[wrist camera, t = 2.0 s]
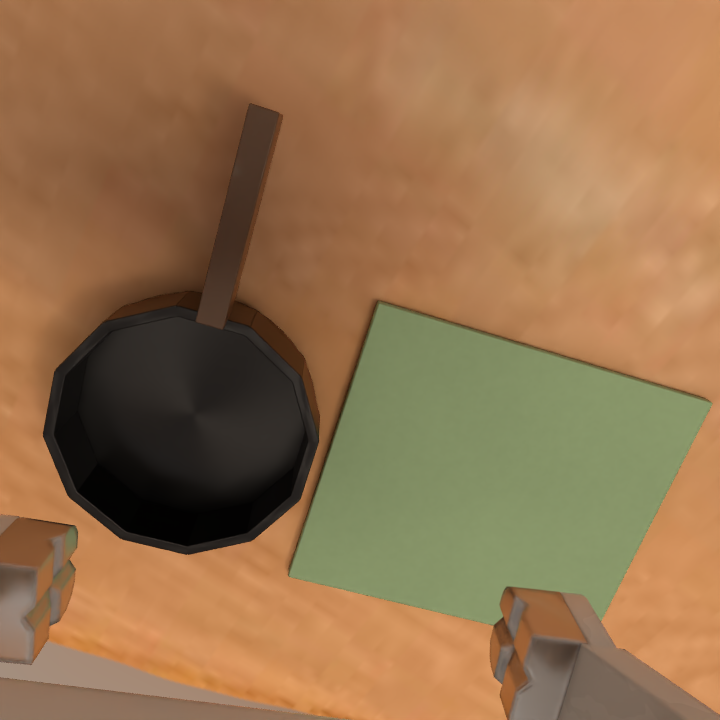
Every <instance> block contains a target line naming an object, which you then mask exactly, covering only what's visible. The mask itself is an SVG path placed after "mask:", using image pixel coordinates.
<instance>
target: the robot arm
mask: <svg viewBox="0 0 720 720" xmlns="http://www.w3.org/2000/svg"><path fill="white" fill-rule="evenodd" d="M77 541H78V531H77V528H76V526H74V525H68V524H62V523H55V522H49V521H43V520H36V519H30V518H24V517H21V518H20V517H19V516H12V515H3V514H0V662H6V663H17V664H28V665H32V663H33V661H34V660H35V658H36V657H37V655H38V654H39V652H40V651H41V649H42V648H43V646H44V644H45V643H46V642H47V640H48V638H49V626H51V625H53V624H55V623H57V622H59V621H60V619H61V618H62V616H63V614H64V613H65V611H66V609H67V606H68V604H69V601H70V598H71V596H72V592H73V587H74V582H75V571H76V569H75V567H74V566H73V564H72V563H71V561H70V560H69V559H70V557H71V556H72V554H73V553H74V551H75V550H76V549H77ZM499 606H500V609H501V611H502V614H503V617H502V618H501V619H500V620H499V621H498V622H497V623H495V624H494V626H493V631H492V635H491V640H490V663H491V668H492V672H493V675H494V677H495V678H496V679H497V680H498V681H499V682H500V683H501V684H502V688H501V691H500V698H501V701H502V704H503V707H504V710H505V713H506V717H507V720H720V715H719V714H717V713H716V712H714V711H713V710H712V709H710V708H709V707H707V706H706V705H704V704H703V703H701V702H700V701H699V700H697V699H696V698H694V697H693V696H691V695H690V694H688V693H687V692H686V691H684V690H683V689H681V688H680V687H678V686H677V685H675V684H674V683H673V682H671V681H670V680H668V679H667V678H665V677H664V676H662V675H661V674H660V673H658V672H657V671H655V670H654V669H652V668H651V667H649V666H648V665H647V664H645V663H644V662H642V661H641V660H639V659H638V658H636V657H635V656H634V655H632V654H631V653H629V652H628V651H626V650H625V649H619V648H616V646H615V644H614V643H613V641H612V639H611V638H610V636H609V634H608V633H607V631H606V629H605V628H604V626H603V624H602V623H601V621H600V619H599V618H598V616H597V614H596V613H595V611H594V609H593V608H592V606H591V604H590V603H589V601H588V599H587V598H586V597H585V596H584V595H582V594H577V593H567V592H556V591H547V590H538V589H529V588H520V587H511V586H506V587H505V589H504V591H503V593H502V596H501V600H500V603H499ZM0 720H349V719H341V718H333V717H324V716H316V715H308V714H300V713H291V712H282V711H275V710H266V709H258V708H250V707H241V706H233V705H225V704H216V703H208V702H199V701H192V700H183V699H175V698H167V697H158V696H150V695H141V694H133V693H125V692H116V691H109V690H100V689H92V688H84V687H75V686H67V685H59V684H51V683H42V682H33V681H26V680H17V679H9V678H1V677H0Z"/></svg>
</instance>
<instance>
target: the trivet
mask: <svg viewBox="0 0 720 720" xmlns="http://www.w3.org/2000/svg"><path fill="white" fill-rule="evenodd" d="M711 406H712V402H710V401H709V400H707V399H705V398H701V397H698V396H695V395H692V394H688V393H685V392H682V391H678V390H675V389H672V388H668V387H665V386H662V385H658V384H655V383H652V382H648V381H645V380H642V379H638V378H635V377H632V376H628V375H625V374H622V373H618V372H615V371H612V370H608V369H605V368H602V367H598V366H595V365H592V364H588V363H585V362H582V361H578V360H575V359H572V358H568V357H565V356H562V355H558V354H555V353H552V352H548V351H545V350H542V349H538V348H535V347H532V346H528V345H525V344H522V343H518V342H515V341H512V340H508V339H505V338H502V337H498V336H495V335H492V334H488V333H485V332H482V331H478V330H475V329H472V328H468V327H465V326H462V325H458V324H455V323H452V322H448V321H445V320H442V319H439V318H435V317H432V316H429V315H425V314H422V313H419V312H415V311H412V310H409V309H405V308H402V307H399V306H395V305H392V304H389V303H385V302H382V301H378V302H377V305H376V308H375V311H374V314H373V317H372V320H371V323H370V326H369V329H368V332H367V335H366V338H365V341H364V344H363V347H362V350H361V353H360V356H359V359H358V362H357V365H356V368H355V371H354V374H353V377H352V380H351V383H350V386H349V390H348V393H347V396H346V399H345V402H344V405H343V408H342V411H341V414H340V417H339V420H338V423H337V426H336V429H335V432H334V435H333V438H332V441H331V444H330V447H329V450H328V453H327V456H326V459H325V462H324V465H323V468H322V471H321V474H320V477H319V480H318V483H317V486H316V489H315V492H314V495H313V499H312V502H311V505H310V508H309V511H308V514H307V517H306V520H305V523H304V526H303V529H302V532H301V535H300V538H299V541H298V544H297V547H296V550H295V553H294V556H293V559H292V562H291V565H290V568H289V574H288V576H289V577H292V578H296V579H300V580H304V581H309V582H313V583H317V584H321V585H325V586H330V587H334V588H338V589H342V590H346V591H351V592H355V593H359V594H363V595H367V596H372V597H376V598H380V599H384V600H388V601H393V602H397V603H401V604H405V605H409V606H414V607H418V608H422V609H426V610H430V611H435V612H439V613H443V614H447V615H451V616H456V617H460V618H464V619H468V620H473V621H477V622H481V623H485V624H489V625H494V624H495V623H497V622H498V621H499V620H500V619H501V618H502V617H503V614H502V611H501V609H500V606H499V603H500V600H501V596H502V593H503V591H504V589H505V587H506V586H511V587H520V588H529V589H538V590H547V591H556V592H567V593H577V594H582V595H584V596H585V597H586V598H587V599H588V601H589V603H590V604H591V606H592V608H593V609H594V611H595V613H596V614H597V616H598V618H599V619H600V621H602V619H603V617H604V615H605V613H606V611H607V609H608V607H609V605H610V603H611V601H612V599H613V597H614V595H615V593H616V591H617V589H618V587H619V585H620V584H621V582H622V580H623V578H624V576H625V574H626V572H627V570H628V568H629V566H630V564H631V562H632V560H633V558H634V556H635V554H636V552H637V550H638V548H639V546H640V544H641V542H642V541H643V539H644V537H645V535H646V533H647V531H648V529H649V527H650V525H651V523H652V521H653V519H654V517H655V515H656V513H657V511H658V509H659V507H660V505H661V503H662V501H663V500H664V498H665V496H666V494H667V492H668V490H669V488H670V486H671V484H672V482H673V480H674V478H675V476H676V474H677V472H678V470H679V468H680V466H681V464H682V462H683V460H684V458H685V457H686V455H687V453H688V451H689V449H690V447H691V445H692V443H693V441H694V439H695V437H696V435H697V433H698V431H699V429H700V427H701V425H702V423H703V421H704V419H705V417H706V415H707V414H708V412H709V410H710V408H711Z"/></svg>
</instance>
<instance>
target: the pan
mask: <svg viewBox="0 0 720 720" xmlns="http://www.w3.org/2000/svg"><path fill="white" fill-rule="evenodd" d="M282 120H283V115H282V114H281V113H279V112H276V111H273V110H270V109H267V108H264V107H261V106H258V105H255V104H252V103H250V104H249V106H248V110H247V114H246V118H245V122H244V127H243V131H242V135H241V139H240V143H239V147H238V151H237V155H236V159H235V163H234V167H233V171H232V175H231V179H230V183H229V187H228V191H227V195H226V199H225V203H224V207H223V211H222V216H221V220H220V224H219V228H218V232H217V236H216V240H215V244H214V248H213V252H212V256H211V260H210V264H209V268H208V272H207V276H206V280H205V284H204V288H203V292H202V293H196V292H193V291H186V292H182V293H171V294H165V295H159V296H156V297H152V298H149V299H146V300H143V301H141V302H138V303H133V304H129V305H125V306H123V307H121V308H120V309H119V310H118V311H116V312H115V313H114V314H113V315H111V316H110V317H109V318H108V319H106V320H105V321H104V322H103V323H102V324H101V325H100V326H99V327H98V328H97V329H96V330H95V331H94V332H93V333H92V334H91V335H90V336H89V337H88V338H86V339H85V340H84V341H83V342H82V343H81V344H80V345H79V346H78V347H77V348H76V349H75V350H74V351H73V352H72V353H71V354H70V355H69V356H68V357H67V358H66V359H65V360H64V361H63V362H62V363H61V364H60V365H59V366H58V367H57V368H56V370H55V371H54V377H53V382H52V387H51V393H50V398H49V404H48V409H47V414H46V420H45V425H44V431H43V437H44V440H45V442H46V444H47V447H48V449H49V452H50V454H51V456H52V459H53V461H54V464H55V466H56V469H57V471H58V473H59V476H60V478H61V481H62V483H63V485H64V488H65V490H66V493H67V495H68V496H69V498H71V499H72V500H73V501H74V502H76V503H77V504H78V505H79V506H81V507H82V508H83V509H84V510H85V511H87V512H88V513H89V514H90V515H92V516H93V517H94V518H95V519H97V520H98V521H99V522H100V523H102V524H103V525H104V526H105V527H107V528H108V529H109V530H110V531H111V532H113V533H114V534H115V535H116V536H118V537H119V538H120V539H121V538H122V540H127V541H131V542H135V543H139V544H143V545H148V546H152V547H156V548H160V549H165V550H169V551H173V552H177V553H181V554H186V555H187V554H188V555H190V554H194V553H199V552H203V551H208V550H213V549H217V548H222V547H227V546H231V545H236V544H241V543H245V542H250V541H252V540H254V539H255V538H256V537H257V536H258V535H260V534H261V533H262V532H263V531H264V530H265V529H267V528H268V527H269V526H270V525H271V524H273V523H274V522H275V521H276V520H277V519H278V518H280V517H281V516H282V515H283V514H284V513H286V512H287V511H288V510H289V509H290V508H291V507H293V506H294V505H295V504H296V503H297V502H298V501H299V500H300V499H301V496H302V493H303V490H304V486H305V483H306V480H307V477H308V474H309V471H310V468H311V465H312V462H313V459H314V456H315V453H316V449H317V446H318V443H319V427H320V414H319V410H318V406H317V403H316V397H315V392H314V387H313V382H312V379H311V376H310V373H309V370H308V368H307V364H306V361H305V358H304V356H303V355H302V354H301V353H300V352H299V351H298V350H297V348H296V347H295V345H294V344H293V342H292V341H291V340H290V339H289V338H288V337H287V336H286V334H285V333H284V332H283V331H282V330H281V329H280V328H279V327H277V326H276V325H275V324H274V323H273V322H272V321H271V320H269V319H268V318H266V317H265V316H263V315H262V314H260V313H259V312H258V311H257V310H255V309H252V308H250V307H248V306H246V305H244V304H242V303H239V302H237V301H235V298H236V294H237V291H238V287H239V283H240V279H241V275H242V272H243V268H244V264H245V260H246V256H247V253H248V249H249V245H250V241H251V237H252V234H253V230H254V226H255V222H256V218H257V215H258V211H259V207H260V203H261V199H262V196H263V192H264V188H265V184H266V180H267V177H268V173H269V169H270V165H271V161H272V158H273V154H274V150H275V146H276V142H277V139H278V135H279V131H280V127H281V123H282Z"/></svg>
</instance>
